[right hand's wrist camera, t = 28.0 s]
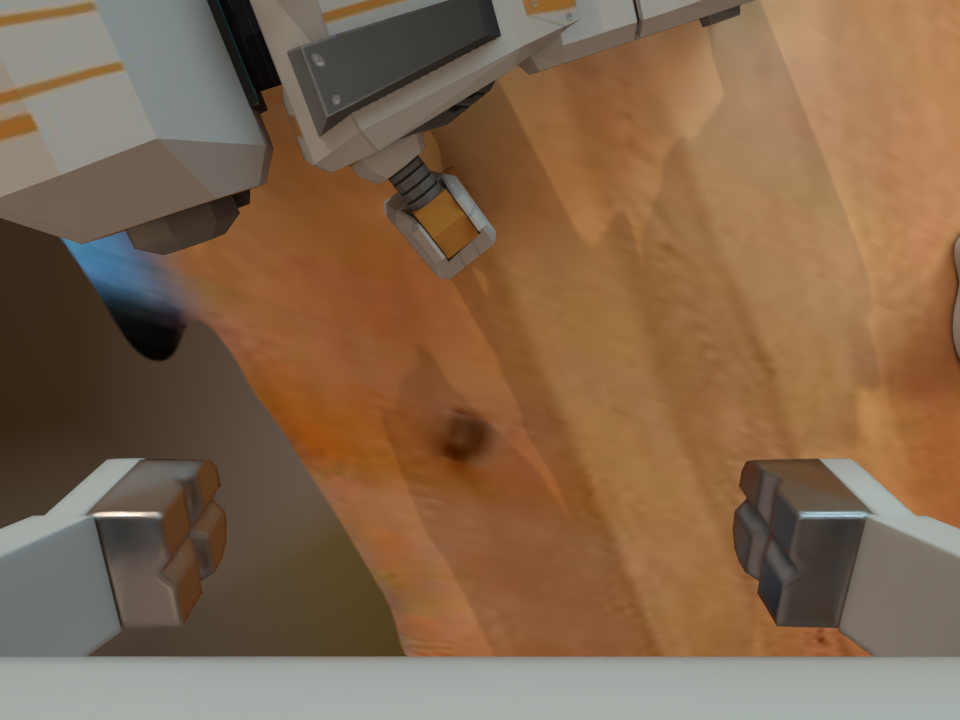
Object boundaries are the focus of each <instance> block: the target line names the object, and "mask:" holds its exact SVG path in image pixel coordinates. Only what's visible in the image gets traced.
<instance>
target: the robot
mask: <svg viewBox="0 0 960 720" xmlns="http://www.w3.org/2000/svg"><path fill="white" fill-rule="evenodd" d="M751 1H753V0H0V218H3V219H6V220H9V221H12V222H15V223H18V224H21V225H24V226H28V227H31V228H34V229H37V230H40V231H43V232H46V233H49V234H52V235H55V236H59V237H62V238H65V239H68V240H71V241H74V242H77V243H80V244H84V243H87V242H90V241H94V240H97V239H100V238H104V237H107V236H110V235H113V234H116V233H119V232H122V231H126V233H127V235H128V237H129V239H130V241H131V243H132V245H133V247H134V249H139V250H143V251H148V252H152V253H156V254H161V255H166V254H169V253H172V252H175V251H179V250H182V249H185V248H188V247H191V246H193V245H196V244H199V243H202V242H205V241H208V240H210V239H213V238H216V237H218V236H220V235H223V234H225V233H226V232H227V230H228V229H229V228H230V226H231V225H232V223H233V222H234V221H235V219H236V218H237V216H238V215H239V214H240V212H239V210H238V208H239V207H242V206H245V205H248V204H250V189H252V188H255V187H258V186H261V185H264V184H266V181H267V176H268V171H269V167H270V162H271V157H272V152H273V148H274V147H273V145H272V142H271V140H270V137H269V135H268V132H267V130H266V128H265V125H264V123H263V120H262V118H261V115H260V114H261V113H263V112H265V111H267V110H268V109H267V106H266V104H265V101H264V99H263V96H262V94H261V91H263V90H266V89H269V88H272V87H275V86H278V85H281V84H282V86H283V98H282V100H283V103H284V106H285V109H286V111H287V114H288V117H289V120H290V122H291V125H292V128H293V131H294V133H295V136H296V139H297V142H298V144H299V147H300V150H301V153H302V155H303V158H304V160H305V161H307V162H309V163H310V164H312V165H313V166H315V167H317V168H319V169H321V170H323V171H326V172H330V173H332V172H334V171H337V170H339V169H341V168H343V167H345V166H347V165H350V167H351V168H352V169H353V170H354V171H355V172H356V173H357V175H358V176H359V177H360V178H363V179H366V180H369V181H372V182H375V183H377V184H381V183H382V182H384V181H385V180H387V179H389V181H390V182H391V183H392V184H393V186H394V187H395V188H396V190H397V191H398V192H397V193H396V194H394V195H393V196H392V197H390V198H389V199H387V200H386V201H385V202H384V214H385V215H386V216H387V217H388V218H389V220H390V221H391V222H392V223H393V224H394V225H395V227H396V228H397V229H398V230H399V231H400V233H401V234H402V235H403V236H404V237H405V239H406V240H407V241H408V242H409V243H410V244H411V246H412V247H413V248H414V249H415V250H416V252H417V253H418V254H419V255H420V256H421V257H422V259H423V260H424V261H425V262H426V263H427V265H428V266H429V267H430V268H431V269H432V271H433V272H434V273H435V274H436V276H437V277H438V278H442V279H448V280H449V279H451V278H452V277H453V276H454V275H456V274H457V273H458V272H460V271H461V270H462V269H463V268H465V267H466V266H467V265H468V264H470V263H471V262H472V261H474V260H475V259H476V258H477V257H479V256H480V255H481V254H482V253H484V252H485V251H486V250H487V249H489V248H490V247H491V246H493V245H494V244H495V241H496V231H495V230H494V228H493V227H492V225H491V224H490V223H489V221H488V220H487V218H486V217H485V216H484V214H483V213H482V212H481V210H480V209H479V207H478V206H477V205H476V203H475V202H474V201H473V199H472V198H471V196H470V195H469V194H468V192H467V191H466V189H465V188H466V187H467V186H466V185H465V183H464V182H463V180H462V179H461V177H460V176H459V174H458V173H457V171H456V170H455V168H454V167H453V166H452V167H449V168H447V169H445V170H444V171H443V172H441V173H439V172H434V171H430V170H429V169H428V168H427V166H426V165H425V164H424V162H423V161H422V160H421V158H420V157H419V156H418V154H419V153H421V151H422V150H423V149H424V148H425V144H424V133H423V132H425V131H428V130H431V129H435V128H438V127H441V126H444V125H447V124H449V123H450V122H451V121H452V120H454V119H455V118H456V117H457V116H459V115H460V114H461V113H462V112H464V111H465V110H466V109H467V108H469V107H470V106H471V105H472V104H474V103H475V102H476V101H477V100H479V99H480V98H481V97H482V96H484V95H485V94H486V93H487V92H489V91H490V90H491V88H492V86H493V84H494V82H495V80H496V79H498V78H499V77H501V76H503V75H504V74H506V73H508V72H509V71H511V70H512V69H513V68H515V67H516V66H517V65H519V66H520V67H521V68H522V69H523V70H524V71H526V72H527V73H528V74H529V75H531V74H534V73H537V72H540V71H543V70H546V69H549V68H552V67H555V66H558V65H561V64H564V63H567V62H570V61H573V60H576V59H579V58H582V57H585V56H589V55H592V54H595V53H598V52H601V51H604V50H607V49H610V48H613V47H616V46H619V45H622V44H625V43H628V42H631V41H634V40H637V39H640V38H643V37H646V36H649V35H652V34H655V33H658V32H661V31H664V30H667V29H670V28H673V27H676V26H679V25H682V24H685V23H688V22H691V21H694V20H697V19H700V21H701V24H702V27H705V26H709V25H712V24H715V23H718V22H721V21H724V20H726V19H729V18H732V17H735V16H738V15H740V5H742V4H745V3H748V2H751Z"/></svg>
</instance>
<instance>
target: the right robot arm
mask: <svg viewBox="0 0 960 720" xmlns="http://www.w3.org/2000/svg"><path fill="white" fill-rule="evenodd" d="M954 260H955V266H956V270H957V274H958V278H959V288H958V294H957V299H956V303H955V308H954V314H953V340H954V345H955V348H956V352H957V354H958V357H959V359H960V237H959V238H958V239H957V241H956V243H955V247H954ZM220 486H221V484H220V479H219V474H218V469H217V466H216V465H215V464H214V463H213V462H212V461H211V460H191V459H144V458H125V459H109V460H106V461H105V462H104V463H103V464H102V465H100V466H99V467H98V468H97V469H96V470H95V471H94V472H93V473H92V474H90V475H89V476H88V477H87V478H86V479H85V480H84V481H83V482H81V483H80V484H79V485H78V486H77V487H76V488H75V489H74V490H73V491H71V492H70V493H69V494H68V495H67V496H66V497H65V498H64V499H62V500H61V501H60V502H59V503H58V504H57V505H56V506H55V507H54V508H52V509H51V510H50V511H49V512H48V513H47V514H46V515H45V516H31V517H29V518H26V519H24V520H22V521H19V522H17V523H14V524H12V525H9V526H7V527H4V528H2V529H0V720H960V529H958V528H956V527H953V526H951V525H948V524H946V523H943V522H941V521H938V520H936V519H934V518H931V517H929V516H916V515H914V514H913V513H912V512H911V511H910V510H909V509H908V508H907V507H905V506H904V505H903V504H902V503H901V502H900V501H899V500H898V499H897V498H895V497H894V496H893V495H892V494H891V493H890V492H889V491H888V490H887V489H885V488H884V487H883V486H882V485H881V484H880V483H879V482H878V481H876V480H875V479H874V478H873V477H872V476H871V475H870V474H869V473H868V472H866V471H865V470H864V469H863V468H862V467H861V466H860V465H859V464H858V463H856V462H855V461H854V460H851V459H847V458H830V459H780V460H752V461H746V463H745V465H744V467H743V470H742V472H741V478H740V484H739V486H740V488H741V489H742V491H743V493H744V494H745V496H746V497H747V499H746V500H745V501H744V502H743V503H742V504H741V505H740V506H739V507H738V508H737V509H736V510H735V515H734V523H733V538H734V548H735V551H736V554H737V557H738V560H739V562H740V564H741V566H742V568H743V569H744V571H745V572H746V573H747V574H749V575H750V576H752V577H754V578H755V579H757V580H758V581H759V586H758V592H757V593H758V595H759V597H760V598H761V600H762V602H763V603H764V605H765V607H766V608H767V610H768V612H769V613H770V615H771V617H772V618H773V620H774V622H775V623H776V625H777V626H790V627H827V628H839V630H838V631H840V632H841V633H842V634H844V635H845V636H846V637H848V638H849V639H850V640H852V641H853V642H855V643H856V644H857V645H859V646H860V647H861V648H863V649H864V650H865V651H867V652H868V653H869V654H871V655H872V656H873V657H87V656H88V655H90V654H91V653H92V652H94V651H95V650H96V649H98V648H99V647H100V646H102V645H103V644H104V643H106V642H107V641H108V640H110V639H111V638H112V637H114V636H115V635H116V634H118V633H119V632H120V631H121V628H133V627H167V626H183V625H184V623H185V622H186V620H187V618H188V617H189V615H190V613H191V612H192V610H193V608H194V607H195V605H196V603H197V602H198V600H199V598H200V597H201V595H202V593H203V592H202V586H201V580H203V579H205V578H206V577H208V576H210V575H211V574H213V573H214V572H215V571H216V569H217V567H218V566H219V564H220V562H221V560H222V558H223V554H224V550H225V546H226V541H227V521H226V515H225V510H224V509H223V508H222V507H221V506H220V505H219V504H218V503H217V502H216V501H215V500H214V499H213V497H214V496H215V494H216V492H217V491H218V489H219V488H220Z"/></svg>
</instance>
